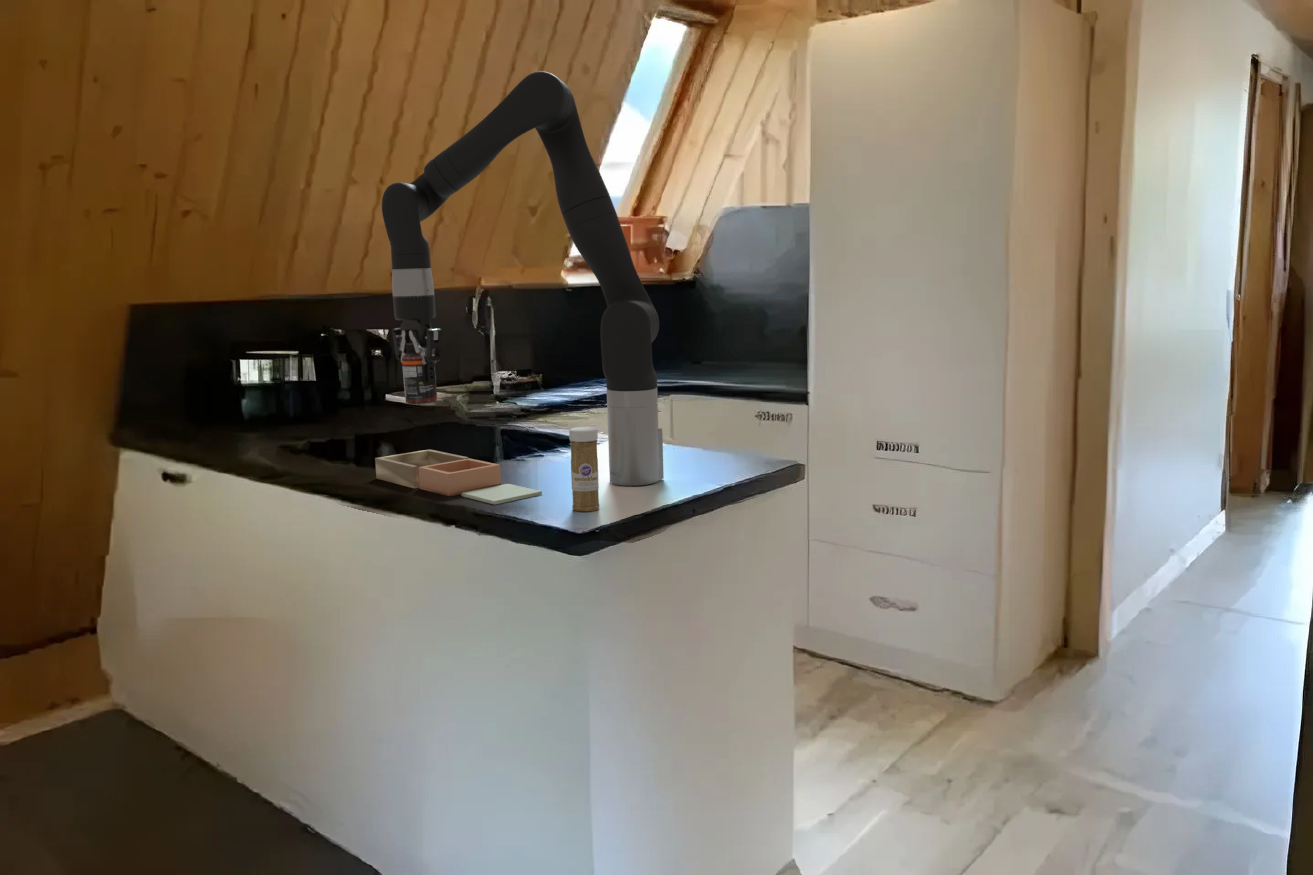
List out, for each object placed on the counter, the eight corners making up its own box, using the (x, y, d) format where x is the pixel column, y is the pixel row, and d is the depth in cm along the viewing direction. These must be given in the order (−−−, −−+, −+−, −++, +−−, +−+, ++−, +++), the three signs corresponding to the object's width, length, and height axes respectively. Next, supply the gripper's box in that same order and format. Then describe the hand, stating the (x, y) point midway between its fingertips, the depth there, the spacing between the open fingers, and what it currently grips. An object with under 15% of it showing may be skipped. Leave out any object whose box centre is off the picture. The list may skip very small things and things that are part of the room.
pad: (508, 486, 186) (508, 483, 186) (541, 494, 179) (541, 491, 179) (461, 496, 179) (461, 492, 179) (494, 504, 172) (494, 501, 172)
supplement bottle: (424, 399, 197) (420, 341, 195) (444, 401, 193) (440, 341, 191) (398, 403, 192) (394, 343, 190) (418, 405, 188) (414, 344, 187)
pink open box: (470, 479, 194) (469, 458, 193) (501, 486, 187) (500, 464, 186) (419, 488, 186) (418, 467, 186) (449, 496, 179) (448, 474, 178)
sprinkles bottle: (577, 513, 164) (574, 431, 162) (568, 507, 168) (565, 427, 166) (604, 510, 166) (601, 428, 164) (594, 504, 170) (591, 425, 168)
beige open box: (430, 468, 205) (429, 449, 204) (469, 477, 195) (468, 457, 194) (376, 478, 197) (375, 458, 196) (414, 488, 187) (412, 466, 186)
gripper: (452, 292, 187) (458, 383, 189) (411, 293, 197) (417, 379, 200) (416, 294, 182) (422, 388, 184) (376, 295, 192) (383, 383, 195)
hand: (420, 383), depth 192 cm, fingers closed on supplement bottle, 6 cm apart
